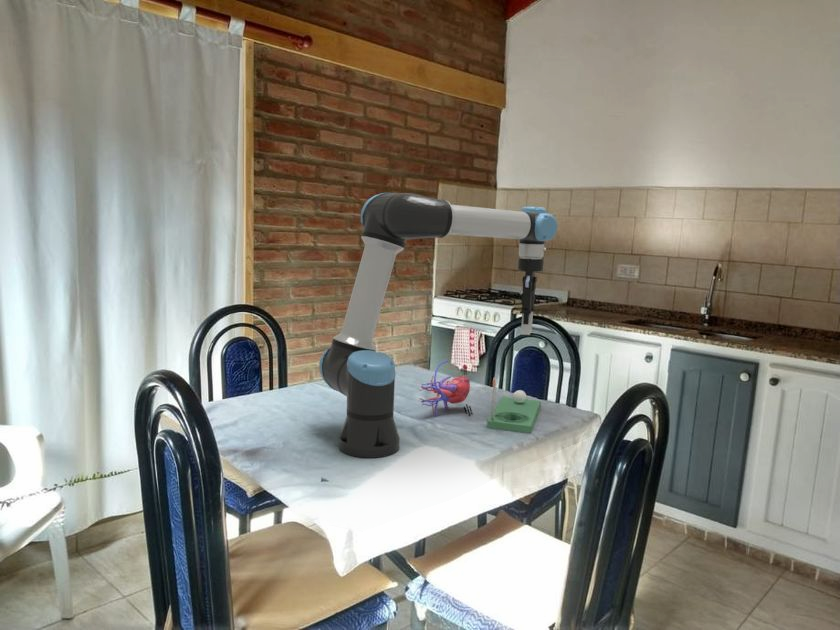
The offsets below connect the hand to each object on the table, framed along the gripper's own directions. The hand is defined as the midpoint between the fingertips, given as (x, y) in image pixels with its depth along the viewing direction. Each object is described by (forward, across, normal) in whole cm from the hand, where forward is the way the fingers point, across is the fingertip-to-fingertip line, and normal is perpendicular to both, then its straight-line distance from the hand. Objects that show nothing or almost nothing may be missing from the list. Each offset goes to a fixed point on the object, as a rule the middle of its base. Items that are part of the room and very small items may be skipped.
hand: (526, 333), depth 201 cm
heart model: (+23, -19, +19) cm, 35 cm away
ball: (+19, -7, 0) cm, 20 cm away
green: (+23, -15, 0) cm, 27 cm away
